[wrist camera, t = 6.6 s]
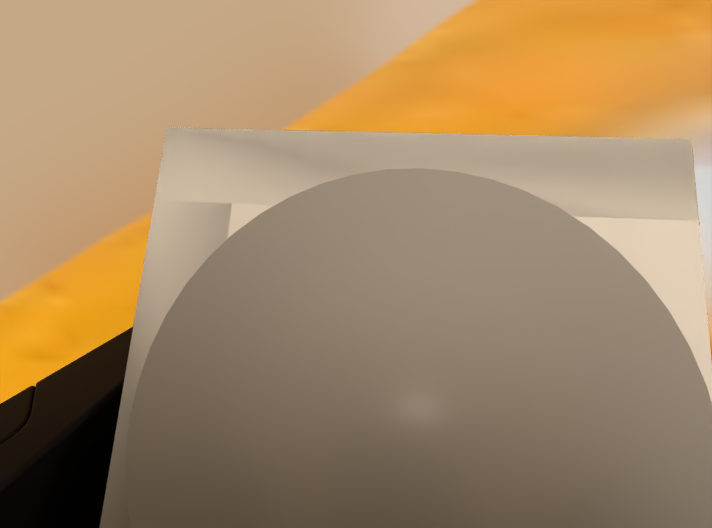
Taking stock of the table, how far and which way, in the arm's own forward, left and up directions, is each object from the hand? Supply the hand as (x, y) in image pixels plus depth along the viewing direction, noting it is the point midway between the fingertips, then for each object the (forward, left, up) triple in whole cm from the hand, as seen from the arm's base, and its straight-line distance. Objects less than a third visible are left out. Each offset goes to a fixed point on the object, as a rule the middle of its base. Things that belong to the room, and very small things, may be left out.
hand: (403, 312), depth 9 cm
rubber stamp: (-1, -1, -7) cm, 7 cm away
